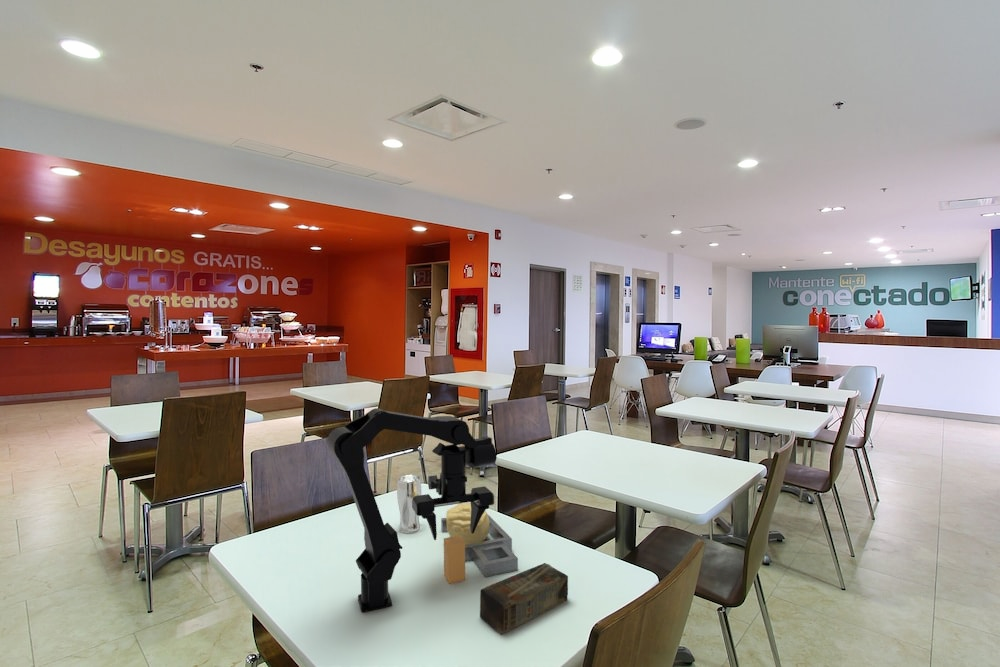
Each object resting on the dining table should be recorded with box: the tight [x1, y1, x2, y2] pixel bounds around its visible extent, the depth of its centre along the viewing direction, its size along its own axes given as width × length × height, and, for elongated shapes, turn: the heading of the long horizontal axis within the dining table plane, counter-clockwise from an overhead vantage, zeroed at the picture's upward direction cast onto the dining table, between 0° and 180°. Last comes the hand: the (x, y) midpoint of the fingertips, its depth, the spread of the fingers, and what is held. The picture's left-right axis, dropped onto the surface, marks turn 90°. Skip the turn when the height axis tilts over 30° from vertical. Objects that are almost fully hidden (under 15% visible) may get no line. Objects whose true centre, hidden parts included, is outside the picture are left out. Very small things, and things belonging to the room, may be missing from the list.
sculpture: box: [445, 502, 490, 545], centre depth 138 cm, size 12×12×11 cm
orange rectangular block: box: [443, 536, 466, 584], centre depth 119 cm, size 4×4×9 cm
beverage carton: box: [479, 562, 569, 635], centre depth 106 cm, size 8×19×7 cm, turn 129°
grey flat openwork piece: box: [440, 514, 519, 578], centre depth 134 cm, size 29×14×4 cm, turn 22°
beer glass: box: [396, 474, 422, 534], centre depth 146 cm, size 7×7×15 cm
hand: (453, 536), depth 119 cm, fingers open, 9 cm apart
